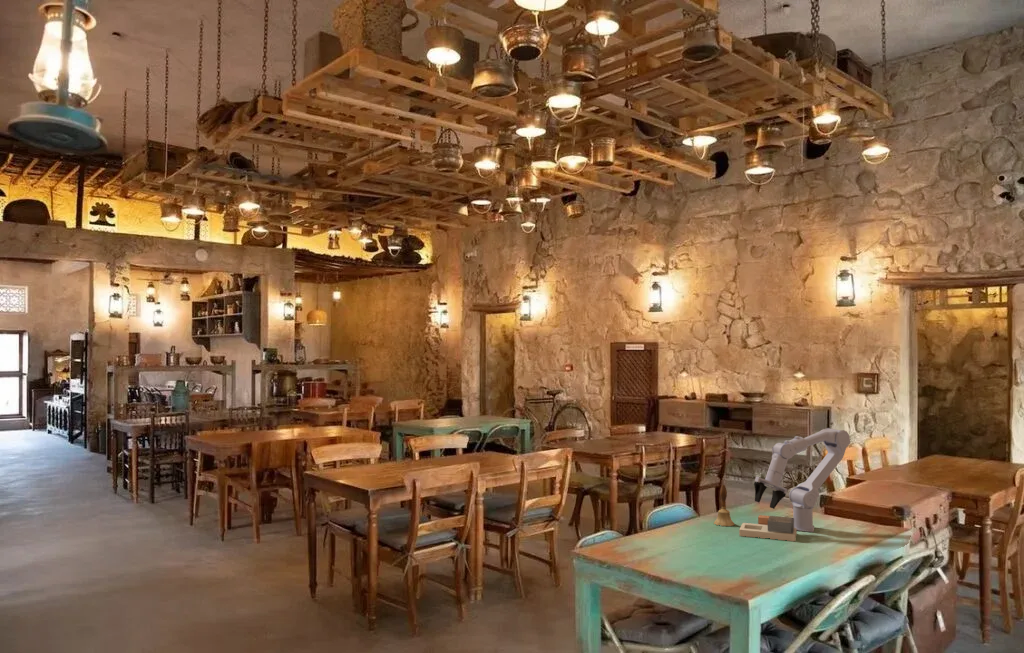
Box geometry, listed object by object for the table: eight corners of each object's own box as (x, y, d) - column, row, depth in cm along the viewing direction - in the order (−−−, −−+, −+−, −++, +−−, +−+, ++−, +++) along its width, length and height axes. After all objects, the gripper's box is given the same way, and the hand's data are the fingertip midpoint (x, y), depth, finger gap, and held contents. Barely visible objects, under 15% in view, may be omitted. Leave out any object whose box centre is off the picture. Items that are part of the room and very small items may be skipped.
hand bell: (709, 523, 300) (709, 484, 301) (725, 521, 304) (724, 482, 304) (723, 527, 293) (722, 487, 293) (739, 525, 296) (738, 486, 296)
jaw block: (759, 527, 293) (759, 515, 293) (771, 528, 291) (771, 516, 291) (758, 530, 289) (758, 517, 289) (770, 531, 287) (770, 518, 287)
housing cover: (769, 525, 285) (769, 515, 285) (794, 527, 281) (794, 517, 281) (767, 530, 276) (767, 520, 276) (793, 533, 273) (792, 523, 273)
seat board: (742, 528, 290) (742, 522, 290) (796, 533, 282) (796, 527, 282) (739, 535, 279) (739, 529, 279) (795, 541, 271) (794, 534, 271)
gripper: (782, 476, 293) (772, 508, 291) (754, 464, 289) (743, 496, 287) (794, 479, 286) (783, 512, 284) (766, 467, 282) (754, 500, 280)
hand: (764, 505), depth 285 cm, fingers open, 7 cm apart
